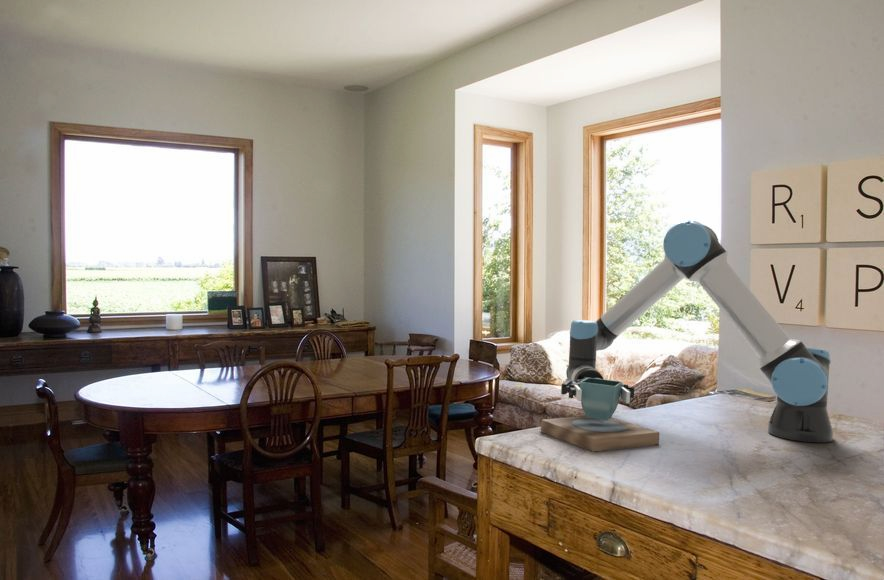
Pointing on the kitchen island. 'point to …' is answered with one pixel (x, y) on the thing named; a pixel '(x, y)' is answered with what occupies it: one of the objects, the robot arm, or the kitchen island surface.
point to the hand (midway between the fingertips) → (604, 396)
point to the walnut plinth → (599, 433)
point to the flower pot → (600, 397)
